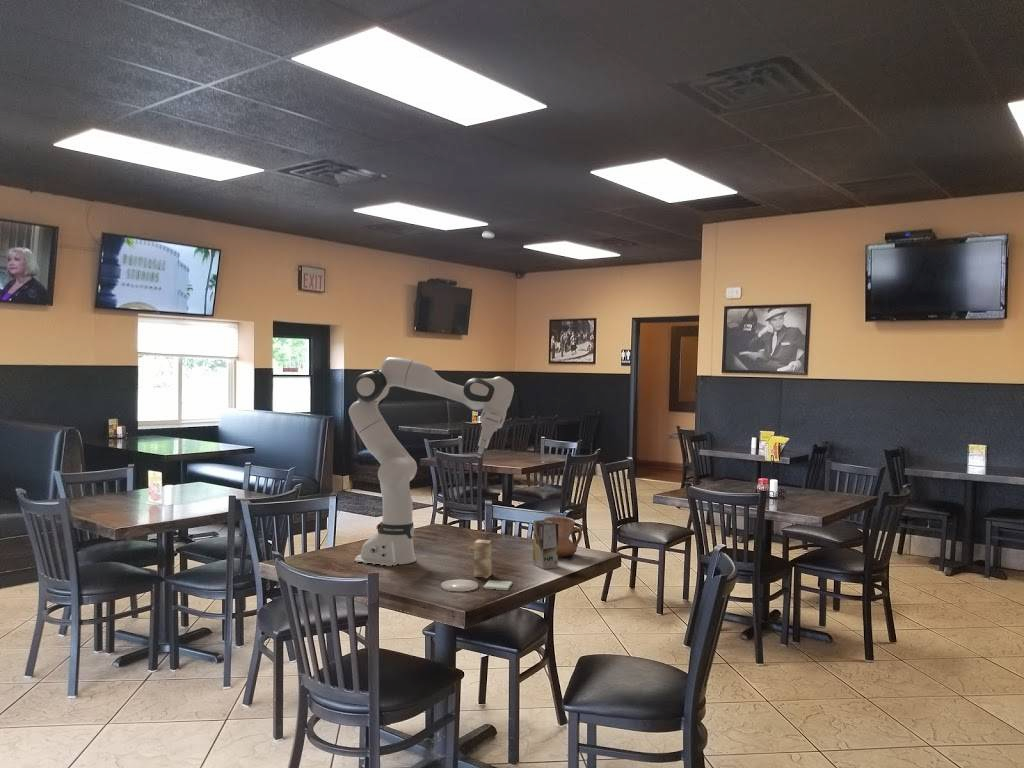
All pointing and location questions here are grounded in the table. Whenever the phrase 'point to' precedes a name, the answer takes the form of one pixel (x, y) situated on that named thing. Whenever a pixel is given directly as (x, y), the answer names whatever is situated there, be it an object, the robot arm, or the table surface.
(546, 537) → the coffee box
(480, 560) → the maple block
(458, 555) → the table surface
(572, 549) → the ceramic jug
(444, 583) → the cream saucer
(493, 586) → the sage coaster
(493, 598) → the table surface
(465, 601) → the table surface
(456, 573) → the table surface
